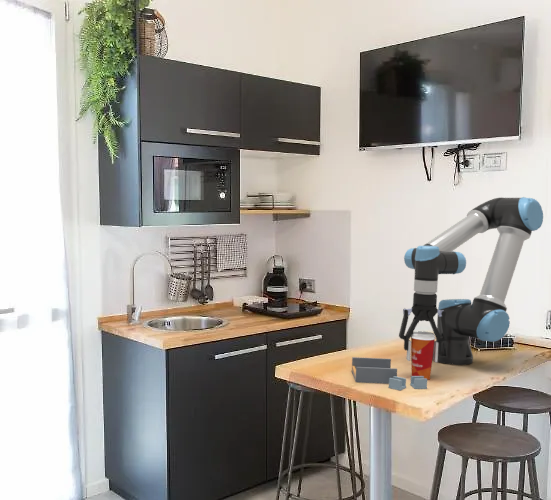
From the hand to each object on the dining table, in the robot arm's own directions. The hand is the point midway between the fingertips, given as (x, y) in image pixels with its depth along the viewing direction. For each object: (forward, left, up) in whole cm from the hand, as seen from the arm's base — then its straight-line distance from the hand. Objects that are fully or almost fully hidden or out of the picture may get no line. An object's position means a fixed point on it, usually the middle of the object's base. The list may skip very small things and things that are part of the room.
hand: (421, 360), depth 201 cm
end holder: (+16, +2, -6) cm, 17 cm away
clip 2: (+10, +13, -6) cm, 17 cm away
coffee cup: (0, 0, -6) cm, 6 cm away
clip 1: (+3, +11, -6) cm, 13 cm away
